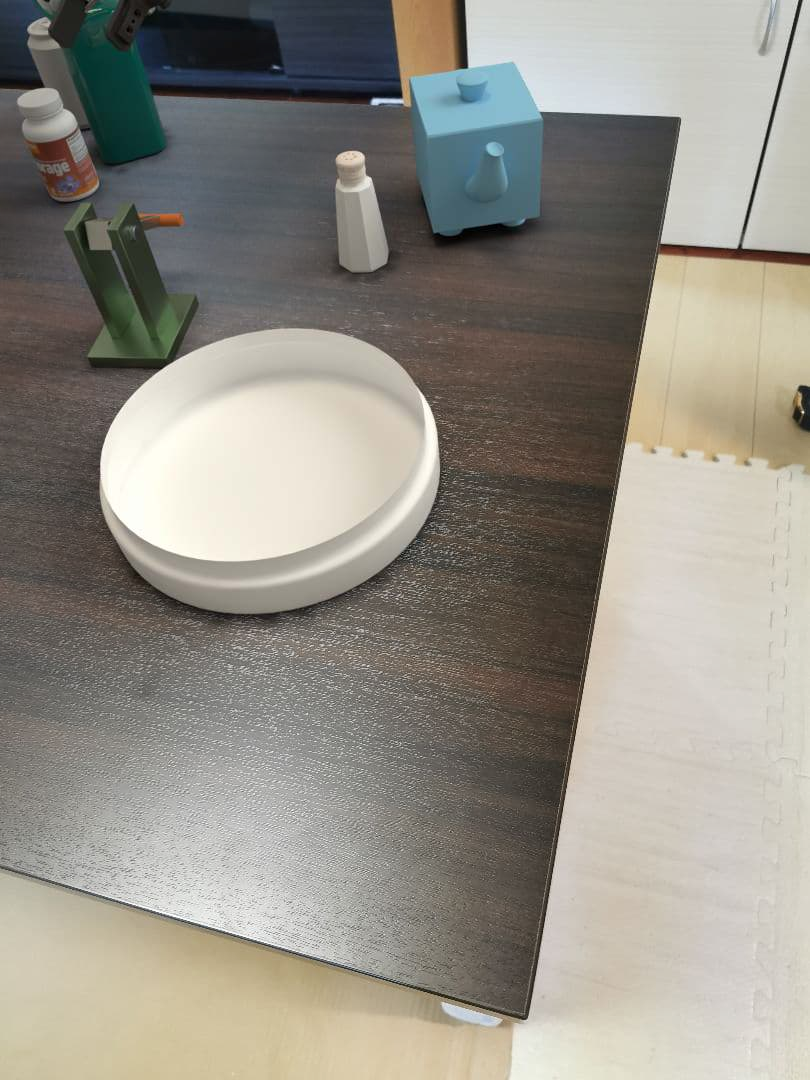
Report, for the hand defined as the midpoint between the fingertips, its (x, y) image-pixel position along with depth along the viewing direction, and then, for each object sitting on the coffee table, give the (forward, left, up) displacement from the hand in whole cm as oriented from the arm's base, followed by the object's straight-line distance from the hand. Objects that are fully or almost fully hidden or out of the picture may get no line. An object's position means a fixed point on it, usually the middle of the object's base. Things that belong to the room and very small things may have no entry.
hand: (86, 43), depth 74 cm
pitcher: (-11, +27, -22) cm, 36 cm away
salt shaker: (+22, -1, -22) cm, 31 cm away
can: (-19, +36, -22) cm, 46 cm away
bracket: (+1, -12, -22) cm, 25 cm away
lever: (+1, -8, -14) cm, 16 cm away
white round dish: (+17, -32, -22) cm, 43 cm away
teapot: (+34, +6, -22) cm, 41 cm away
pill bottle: (-15, +17, -22) cm, 31 cm away
